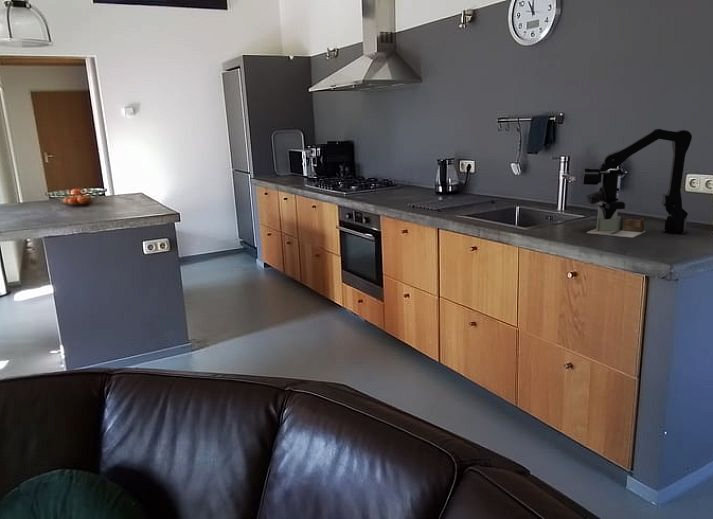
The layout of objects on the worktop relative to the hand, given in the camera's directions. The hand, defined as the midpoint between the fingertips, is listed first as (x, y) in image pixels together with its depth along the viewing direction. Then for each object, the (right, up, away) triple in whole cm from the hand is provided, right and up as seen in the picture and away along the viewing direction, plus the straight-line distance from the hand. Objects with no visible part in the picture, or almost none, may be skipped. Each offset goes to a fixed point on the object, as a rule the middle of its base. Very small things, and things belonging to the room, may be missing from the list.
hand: (606, 223), depth 226 cm
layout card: (+2, -4, -4) cm, 6 cm away
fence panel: (0, -3, -1) cm, 3 cm away
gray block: (+11, +3, +24) cm, 26 cm away
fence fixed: (+8, -4, -4) cm, 10 cm away
